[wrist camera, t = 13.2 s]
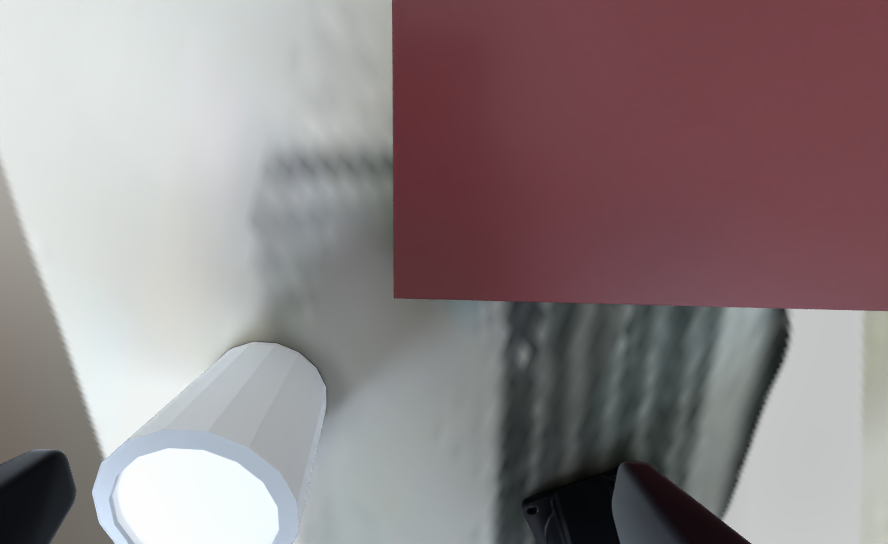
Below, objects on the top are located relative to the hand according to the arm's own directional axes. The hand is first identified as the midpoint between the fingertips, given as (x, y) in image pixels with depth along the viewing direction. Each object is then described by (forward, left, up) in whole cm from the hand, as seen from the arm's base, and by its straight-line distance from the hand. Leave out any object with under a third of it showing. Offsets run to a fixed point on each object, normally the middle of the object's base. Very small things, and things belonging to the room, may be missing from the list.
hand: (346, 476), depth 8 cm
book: (+1, -12, -13) cm, 18 cm away
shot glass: (-4, +9, -13) cm, 17 cm away
